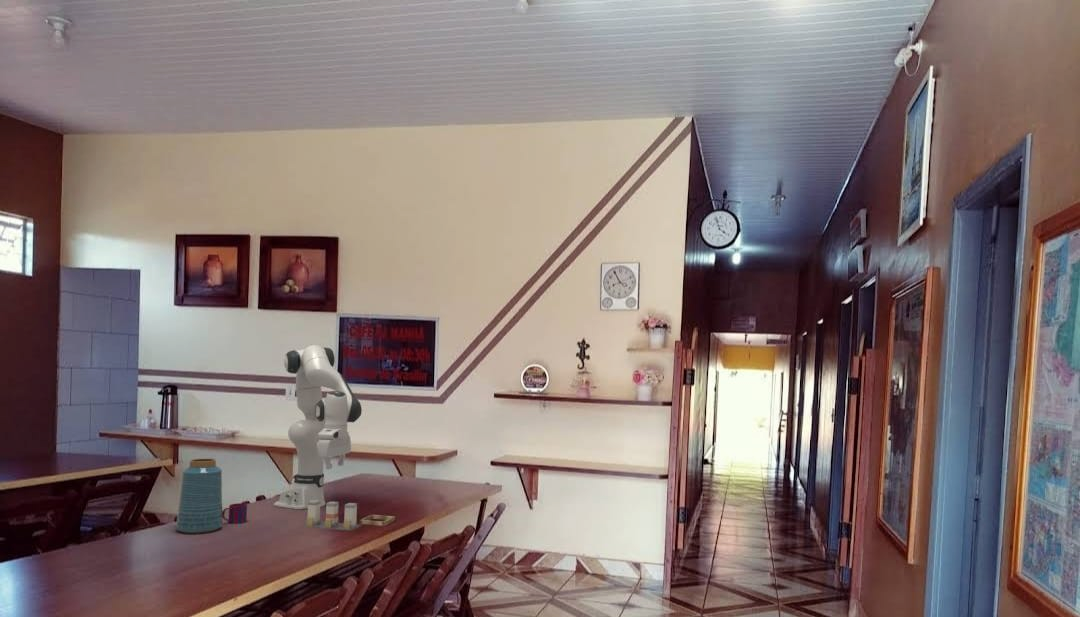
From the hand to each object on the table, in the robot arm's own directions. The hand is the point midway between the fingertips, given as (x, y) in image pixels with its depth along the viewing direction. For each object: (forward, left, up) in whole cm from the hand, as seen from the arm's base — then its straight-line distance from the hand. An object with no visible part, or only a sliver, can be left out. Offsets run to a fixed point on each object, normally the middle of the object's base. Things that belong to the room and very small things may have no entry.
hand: (334, 467), depth 290 cm
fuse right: (+8, 0, -23) cm, 24 cm away
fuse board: (0, 0, -24) cm, 24 cm away
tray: (+14, +12, -24) cm, 30 cm away
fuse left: (-8, 0, -23) cm, 24 cm away
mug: (-42, -3, -24) cm, 49 cm away
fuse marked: (0, 0, -23) cm, 23 cm away
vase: (-47, -17, -24) cm, 56 cm away
